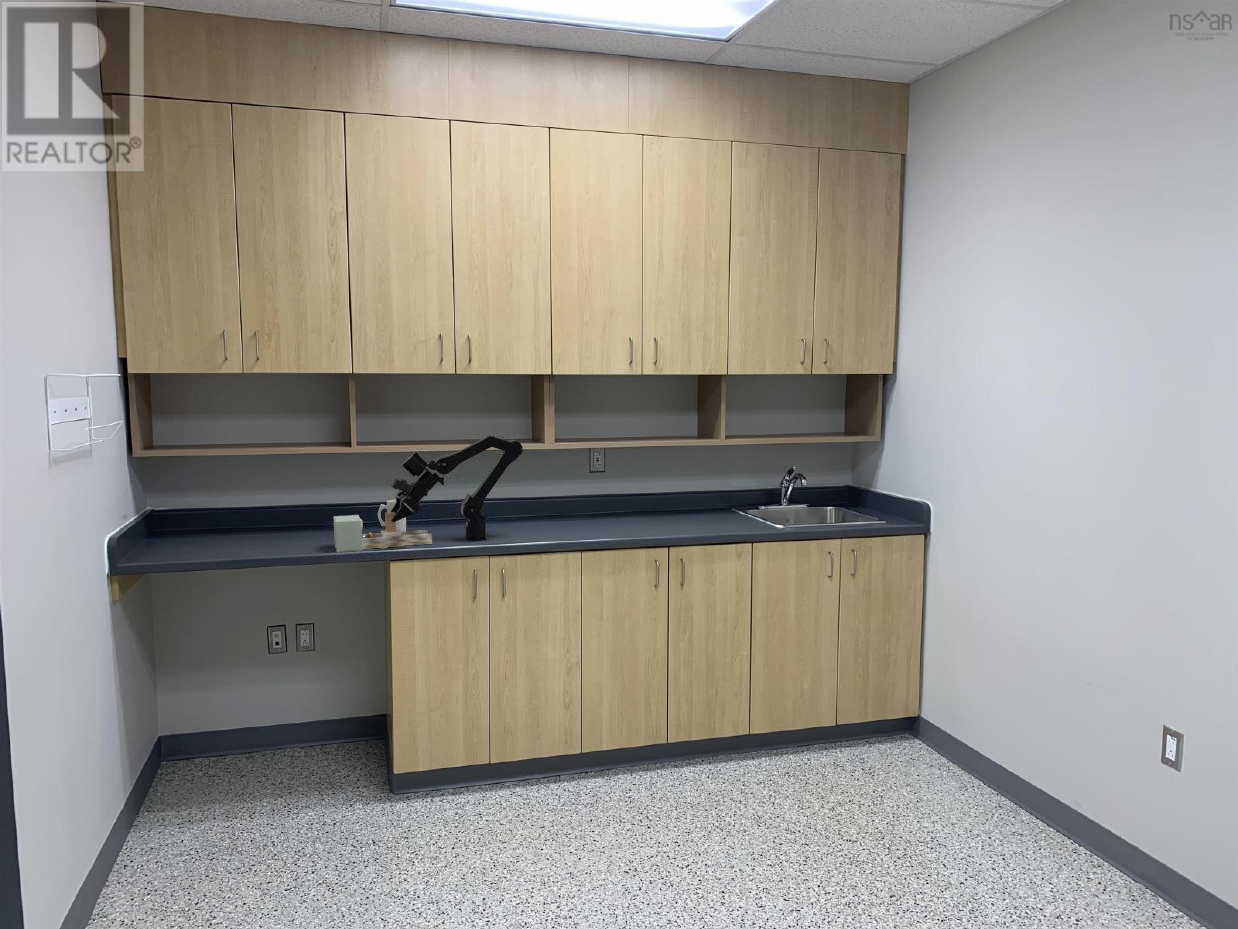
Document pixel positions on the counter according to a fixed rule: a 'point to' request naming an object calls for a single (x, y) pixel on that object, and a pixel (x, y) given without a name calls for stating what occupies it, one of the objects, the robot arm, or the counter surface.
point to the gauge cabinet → (348, 533)
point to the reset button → (368, 535)
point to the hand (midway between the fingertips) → (390, 519)
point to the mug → (390, 504)
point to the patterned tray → (397, 539)
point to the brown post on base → (390, 526)
